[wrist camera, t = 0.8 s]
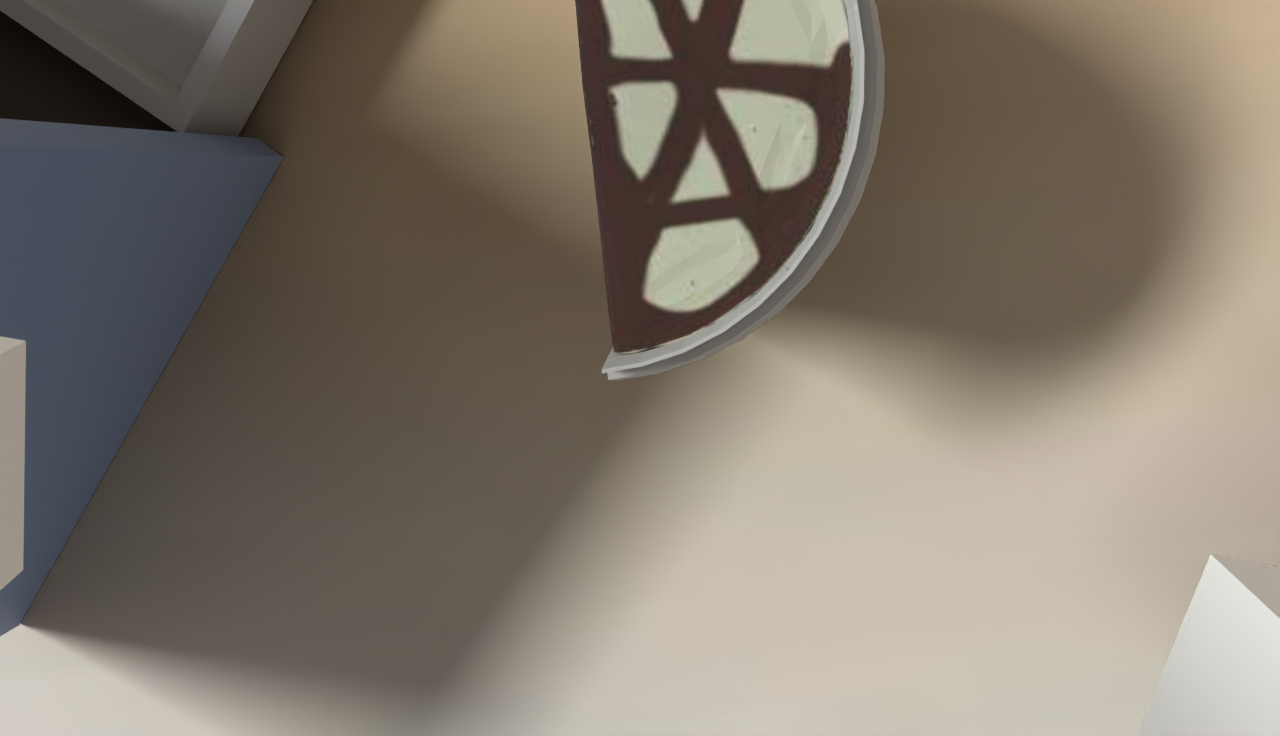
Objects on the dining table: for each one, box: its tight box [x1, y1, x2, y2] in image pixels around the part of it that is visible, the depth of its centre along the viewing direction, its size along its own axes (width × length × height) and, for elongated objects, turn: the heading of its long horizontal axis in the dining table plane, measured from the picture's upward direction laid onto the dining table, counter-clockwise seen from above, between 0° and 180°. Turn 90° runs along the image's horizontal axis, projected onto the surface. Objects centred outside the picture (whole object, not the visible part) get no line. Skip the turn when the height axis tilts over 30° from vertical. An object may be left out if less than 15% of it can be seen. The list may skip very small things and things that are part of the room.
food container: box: [575, 0, 885, 381], centre depth 25 cm, size 12×6×10 cm, turn 6°
